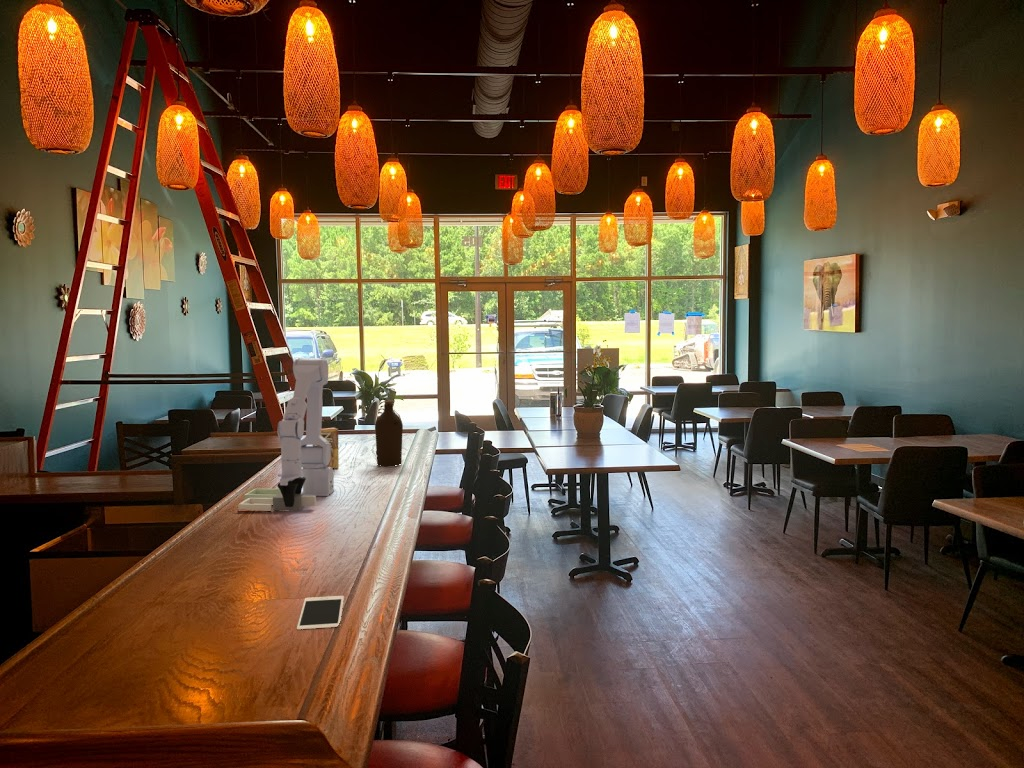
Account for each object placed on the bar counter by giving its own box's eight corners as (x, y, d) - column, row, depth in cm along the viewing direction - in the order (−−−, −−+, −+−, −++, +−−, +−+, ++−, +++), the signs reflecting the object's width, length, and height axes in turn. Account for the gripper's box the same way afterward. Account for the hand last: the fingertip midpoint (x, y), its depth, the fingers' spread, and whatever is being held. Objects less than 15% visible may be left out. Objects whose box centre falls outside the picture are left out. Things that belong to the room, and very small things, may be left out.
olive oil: (407, 463, 301) (407, 400, 299) (394, 468, 291) (394, 402, 289) (384, 461, 305) (383, 399, 303) (370, 466, 295) (369, 401, 293)
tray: (291, 496, 245) (290, 488, 244) (281, 503, 236) (281, 495, 236) (255, 496, 245) (254, 488, 245) (244, 502, 237) (244, 494, 236)
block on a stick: (318, 507, 231) (317, 494, 231) (312, 511, 226) (312, 498, 226) (278, 506, 232) (278, 493, 231) (272, 510, 227) (272, 497, 226)
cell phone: (344, 598, 157) (344, 595, 157) (340, 629, 142) (339, 626, 142) (305, 600, 156) (305, 597, 156) (296, 632, 140) (296, 628, 140)
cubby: (280, 505, 233) (280, 498, 233) (271, 512, 225) (270, 504, 225) (249, 504, 234) (249, 497, 234) (238, 511, 226) (238, 504, 226)
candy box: (334, 466, 294) (333, 427, 292) (339, 468, 290) (338, 428, 289) (312, 469, 288) (311, 429, 287) (317, 471, 285) (316, 430, 283)
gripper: (286, 454, 235) (287, 498, 236) (269, 463, 221) (270, 510, 222) (309, 455, 235) (310, 498, 236) (293, 464, 220) (294, 510, 222)
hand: (292, 504), depth 229 cm, fingers closed on block on a stick, 5 cm apart
